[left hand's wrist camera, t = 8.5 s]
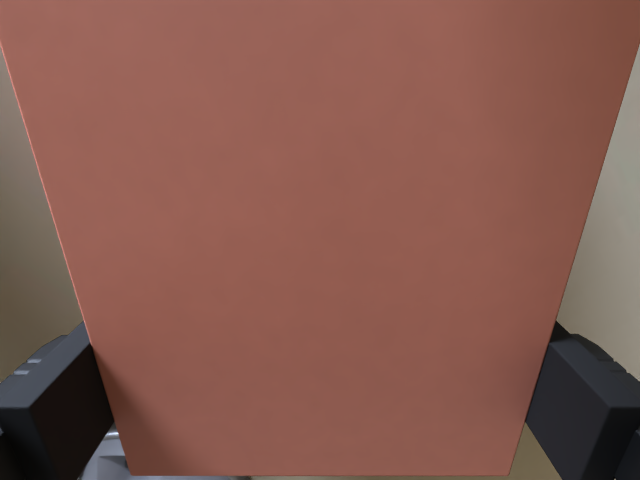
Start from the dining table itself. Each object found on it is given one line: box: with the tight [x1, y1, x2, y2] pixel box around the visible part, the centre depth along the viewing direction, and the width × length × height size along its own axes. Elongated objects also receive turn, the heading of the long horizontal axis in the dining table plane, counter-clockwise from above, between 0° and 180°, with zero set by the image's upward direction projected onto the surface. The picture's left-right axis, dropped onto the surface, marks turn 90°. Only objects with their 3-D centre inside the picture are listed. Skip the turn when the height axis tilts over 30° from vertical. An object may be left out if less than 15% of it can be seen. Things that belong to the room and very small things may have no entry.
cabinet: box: [0, 0, 640, 476], centre depth 12 cm, size 17×12×11 cm, turn 0°
